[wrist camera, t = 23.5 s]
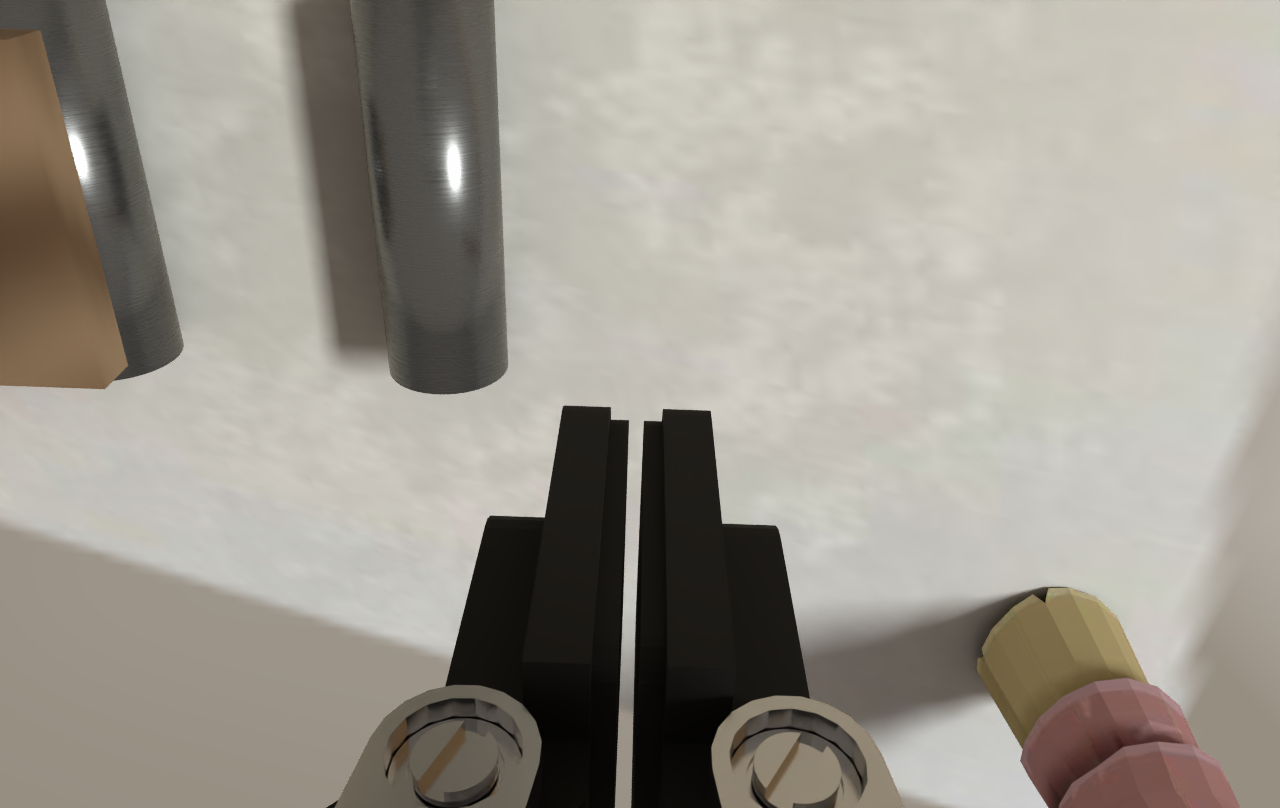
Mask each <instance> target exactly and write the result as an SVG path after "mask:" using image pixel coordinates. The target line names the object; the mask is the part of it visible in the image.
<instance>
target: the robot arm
mask: <svg viewBox="0 0 1280 808" xmlns="http://www.w3.org/2000/svg"><path fill="white" fill-rule="evenodd" d="M628 433H629V420H611V407H588V406H563V410H562V415H561V422H560V428H559V434H558V440H557V446H556V452H555V459H554V465H553V471H552V477H551V483H550V490H549V496H548V502H547V508H546V514H545V518H541V517H512V516H490V517H489V518H488V519H487V522H486V525H485V528H484V532H483V536H482V540H481V544H480V548H479V553H478V557H477V561H476V565H475V569H474V573H473V577H472V581H471V585H470V589H469V593H468V597H467V601H466V605H465V609H464V613H463V617H462V621H461V625H460V629H459V633H458V637H457V641H456V645H455V649H454V653H453V657H452V661H451V665H450V670H449V674H448V678H447V682H446V686H445V687H443V688H437V689H433V690H429V691H426V692H424V693H422V694H420V695H417V696H415V697H413V698H411V699H409V700H407V701H405V702H404V703H402V704H401V705H400V706H398V707H397V708H396V709H395V710H393V711H392V712H391V713H390V714H388V715H387V716H386V717H385V718H384V719H383V721H382V722H381V723H380V725H379V726H378V727H377V729H376V730H375V732H374V733H373V734H372V736H371V737H370V739H369V741H368V743H367V745H366V747H365V749H364V751H363V753H362V755H361V757H360V759H359V761H358V763H357V765H356V767H355V769H354V771H353V773H352V775H351V776H350V778H349V780H348V783H347V784H346V786H345V788H344V790H343V792H342V794H341V796H340V798H339V800H338V801H336V802H335V803H333V804H332V805H330V806H328V807H327V808H615V787H616V764H617V740H618V715H619V691H620V666H621V642H622V616H623V587H624V556H625V525H626V494H627V464H628ZM631 803H632V804H631V808H905V807H904V805H903V802H902V800H901V798H900V795H899V793H898V791H897V788H896V786H895V784H894V781H893V779H892V777H891V774H890V772H889V770H888V767H887V765H886V763H885V761H884V758H883V756H882V754H881V752H880V751H879V749H878V747H877V746H876V744H875V743H874V741H873V739H872V738H871V736H870V735H869V733H868V732H867V731H866V730H864V729H863V728H862V727H861V726H860V725H859V724H858V723H857V722H856V721H855V720H853V719H852V718H851V717H850V716H849V715H847V714H845V713H843V712H841V711H839V710H838V709H836V708H834V707H832V706H830V705H828V704H826V703H823V702H819V701H816V700H812V699H810V697H809V691H808V686H807V680H806V675H805V669H804V664H803V659H802V653H801V648H800V642H799V637H798V631H797V626H796V620H795V615H794V609H793V604H792V598H791V593H790V587H789V582H788V576H787V571H786V565H785V560H784V554H783V549H782V543H781V538H780V534H779V530H778V528H777V527H776V526H772V525H743V524H722V518H721V508H720V498H719V488H718V478H717V468H716V458H715V448H714V438H713V428H712V418H711V411H702V410H673V409H663V415H662V422H660V421H644V433H643V457H642V481H641V505H640V529H639V553H638V577H637V601H636V632H635V674H634V716H633V760H632V801H631Z"/></svg>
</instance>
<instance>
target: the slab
mask: <svg viewBox="0 0 1280 808" xmlns="http://www.w3.org/2000/svg"><path fill="white" fill-rule="evenodd" d="M127 366H128V363H127V359H126V356H125V352H124V348H123V344H122V340H121V336H120V333H119V329H118V325H117V321H116V317H115V313H114V310H113V306H112V302H111V298H110V294H109V291H108V287H107V283H106V279H105V275H104V271H103V268H102V264H101V260H100V256H99V252H98V248H97V245H96V241H95V237H94V233H93V229H92V226H91V222H90V218H89V214H88V210H87V206H86V203H85V199H84V195H83V191H82V187H81V183H80V180H79V176H78V172H77V168H76V164H75V161H74V157H73V153H72V149H71V145H70V141H69V138H68V134H67V130H66V126H65V122H64V118H63V115H62V111H61V107H60V103H59V99H58V96H57V92H56V88H55V84H54V80H53V76H52V73H51V69H50V65H49V61H48V57H47V53H46V50H45V46H44V42H43V38H42V34H41V31H40V30H31V29H4V28H0V385H6V386H34V387H62V388H91V389H105V388H106V387H107V386H108V385H109V384H110V383H111V382H112V381H113V380H114V379H115V378H116V377H117V376H118V375H119V374H120V373H121V372H122V371H123V370H124V369H125V368H126V367H127Z"/></svg>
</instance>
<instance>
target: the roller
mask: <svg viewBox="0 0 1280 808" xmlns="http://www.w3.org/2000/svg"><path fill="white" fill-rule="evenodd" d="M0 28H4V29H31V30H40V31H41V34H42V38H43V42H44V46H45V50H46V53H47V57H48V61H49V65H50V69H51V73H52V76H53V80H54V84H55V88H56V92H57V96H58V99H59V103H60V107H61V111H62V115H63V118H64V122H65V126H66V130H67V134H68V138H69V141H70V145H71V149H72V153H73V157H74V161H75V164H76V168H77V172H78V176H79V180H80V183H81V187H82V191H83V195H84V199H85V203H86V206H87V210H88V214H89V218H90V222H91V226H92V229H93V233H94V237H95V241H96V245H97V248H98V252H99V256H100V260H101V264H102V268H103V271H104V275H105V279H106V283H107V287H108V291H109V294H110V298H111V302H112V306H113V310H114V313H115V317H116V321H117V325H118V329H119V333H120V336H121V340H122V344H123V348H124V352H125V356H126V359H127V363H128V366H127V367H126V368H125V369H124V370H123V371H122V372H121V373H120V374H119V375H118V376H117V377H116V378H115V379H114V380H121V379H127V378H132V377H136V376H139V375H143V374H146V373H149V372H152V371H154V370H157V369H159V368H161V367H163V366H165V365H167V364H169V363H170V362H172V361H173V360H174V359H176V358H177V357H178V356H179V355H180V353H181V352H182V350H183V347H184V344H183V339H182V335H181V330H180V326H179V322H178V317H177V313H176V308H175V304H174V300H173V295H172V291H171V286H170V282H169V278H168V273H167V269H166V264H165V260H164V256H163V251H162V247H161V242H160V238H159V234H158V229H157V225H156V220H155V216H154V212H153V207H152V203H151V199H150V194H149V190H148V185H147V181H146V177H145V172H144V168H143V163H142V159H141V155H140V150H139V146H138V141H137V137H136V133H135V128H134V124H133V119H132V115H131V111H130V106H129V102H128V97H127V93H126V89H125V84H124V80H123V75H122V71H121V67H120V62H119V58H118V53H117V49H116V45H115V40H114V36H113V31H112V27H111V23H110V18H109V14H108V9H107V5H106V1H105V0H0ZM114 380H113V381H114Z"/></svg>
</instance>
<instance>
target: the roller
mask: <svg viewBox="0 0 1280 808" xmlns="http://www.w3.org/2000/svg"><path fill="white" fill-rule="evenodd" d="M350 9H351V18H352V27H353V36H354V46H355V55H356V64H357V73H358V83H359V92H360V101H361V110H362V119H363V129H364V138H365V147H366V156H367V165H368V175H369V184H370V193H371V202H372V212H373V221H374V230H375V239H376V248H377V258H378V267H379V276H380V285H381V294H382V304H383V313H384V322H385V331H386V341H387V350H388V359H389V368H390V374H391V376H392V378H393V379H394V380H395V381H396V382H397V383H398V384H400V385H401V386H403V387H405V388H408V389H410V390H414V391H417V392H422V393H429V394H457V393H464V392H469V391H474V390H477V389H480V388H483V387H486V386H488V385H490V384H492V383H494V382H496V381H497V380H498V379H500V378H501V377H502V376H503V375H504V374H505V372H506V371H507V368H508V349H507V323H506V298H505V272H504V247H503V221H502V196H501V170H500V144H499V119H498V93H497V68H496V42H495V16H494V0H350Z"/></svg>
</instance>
